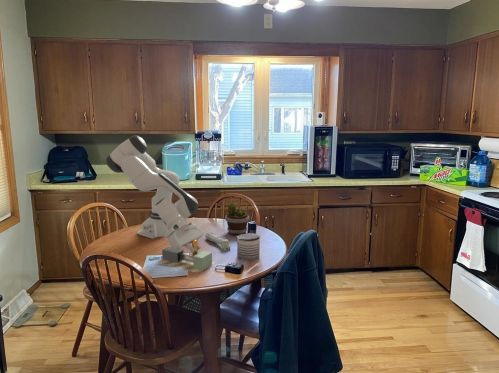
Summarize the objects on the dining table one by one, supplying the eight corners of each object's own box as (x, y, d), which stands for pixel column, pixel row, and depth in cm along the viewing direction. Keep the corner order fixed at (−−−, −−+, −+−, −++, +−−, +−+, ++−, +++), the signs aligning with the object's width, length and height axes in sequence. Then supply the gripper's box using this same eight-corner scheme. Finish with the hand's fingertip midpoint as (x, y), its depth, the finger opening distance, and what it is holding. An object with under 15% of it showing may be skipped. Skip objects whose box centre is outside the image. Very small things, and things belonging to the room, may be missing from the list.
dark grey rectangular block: (162, 259, 185) (162, 249, 184) (169, 256, 189) (168, 246, 188) (177, 262, 181) (177, 253, 180) (183, 259, 185) (183, 249, 184)
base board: (155, 264, 181) (155, 262, 181) (174, 254, 194) (174, 253, 193) (198, 275, 170) (198, 272, 170) (215, 264, 182) (215, 262, 182)
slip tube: (176, 259, 182) (175, 237, 180) (179, 257, 185) (179, 236, 183) (203, 266, 175) (203, 243, 173) (207, 263, 177) (207, 241, 175)
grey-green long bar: (212, 231, 220) (232, 238, 198) (213, 243, 221) (232, 250, 199) (204, 233, 217) (223, 239, 196) (204, 244, 218) (223, 252, 196)
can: (242, 263, 183) (242, 240, 181) (233, 255, 194) (233, 233, 191) (263, 260, 188) (263, 237, 186) (254, 252, 198) (254, 230, 196)
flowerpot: (248, 228, 239) (249, 197, 235) (249, 236, 224) (249, 203, 220) (225, 228, 238) (225, 197, 234) (224, 236, 223) (224, 203, 219)
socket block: (193, 268, 175) (193, 256, 174) (203, 262, 182) (203, 250, 181) (202, 270, 172) (202, 258, 171) (212, 264, 179) (211, 252, 178)
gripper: (188, 225, 190) (205, 247, 188) (161, 236, 172) (179, 261, 170) (195, 218, 187) (212, 240, 185) (169, 228, 170) (187, 253, 167)
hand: (196, 250), depth 177 cm, fingers closed on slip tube, 2 cm apart
